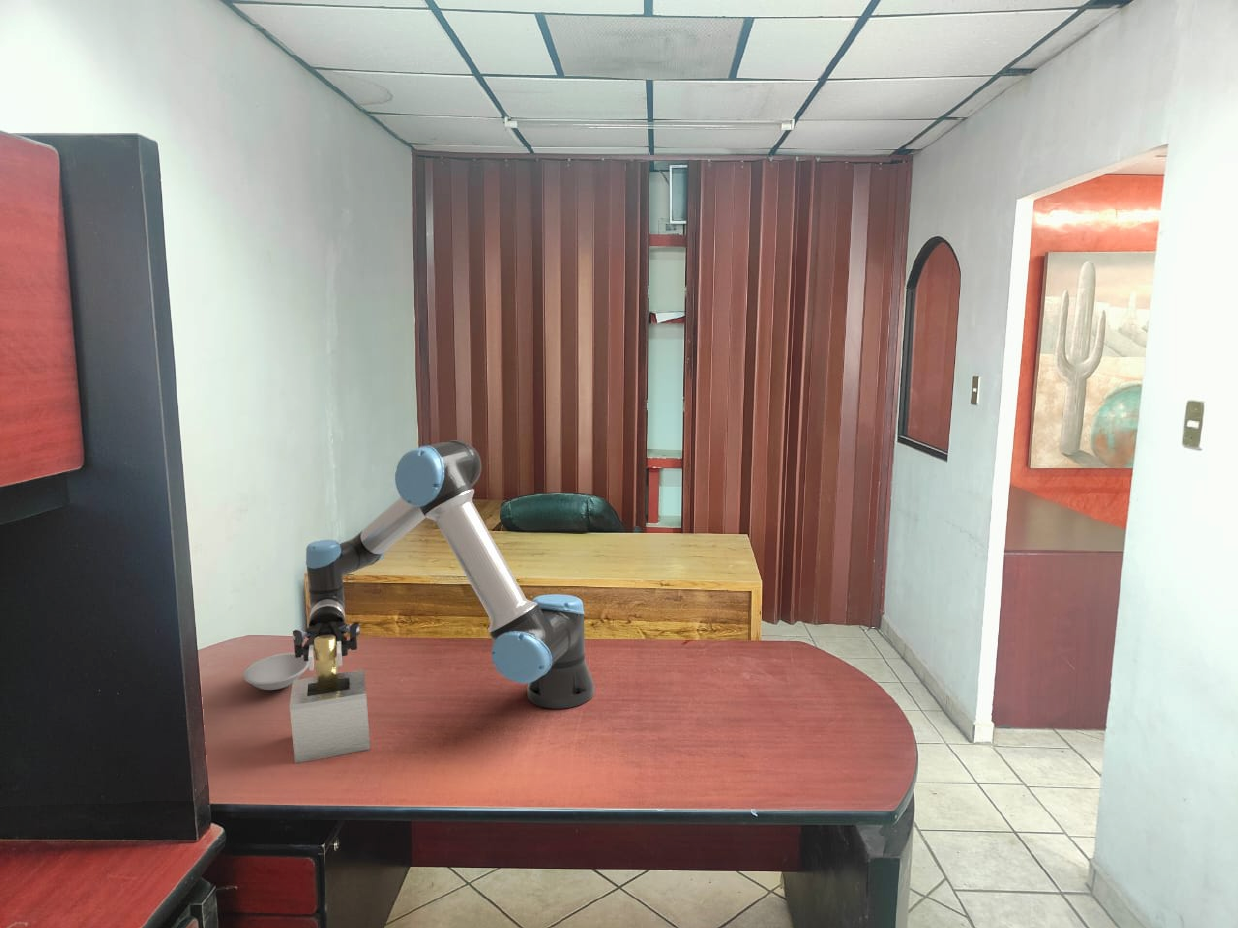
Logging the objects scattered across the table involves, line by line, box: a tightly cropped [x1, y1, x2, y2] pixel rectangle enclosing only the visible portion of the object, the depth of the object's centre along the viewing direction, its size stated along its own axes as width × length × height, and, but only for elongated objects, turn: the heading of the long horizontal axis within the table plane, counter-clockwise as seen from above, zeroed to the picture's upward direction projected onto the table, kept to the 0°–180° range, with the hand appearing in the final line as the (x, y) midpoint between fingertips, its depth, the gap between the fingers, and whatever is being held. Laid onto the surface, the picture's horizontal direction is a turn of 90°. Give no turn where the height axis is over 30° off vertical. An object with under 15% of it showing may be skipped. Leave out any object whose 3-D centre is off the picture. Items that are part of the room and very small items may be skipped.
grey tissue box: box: [289, 669, 371, 764], centre depth 159 cm, size 14×12×12 cm
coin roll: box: [314, 635, 339, 690], centre depth 157 cm, size 4×4×10 cm
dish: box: [242, 652, 309, 691], centre depth 186 cm, size 18×14×5 cm
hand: (325, 661), depth 152 cm, fingers open, 4 cm apart
